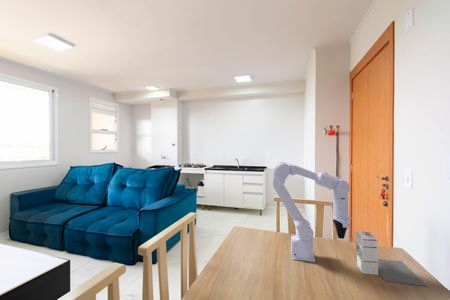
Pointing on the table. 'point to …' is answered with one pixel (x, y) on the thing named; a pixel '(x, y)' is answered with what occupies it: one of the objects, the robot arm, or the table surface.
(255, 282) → the table surface
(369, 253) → the syrup box
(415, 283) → the mat
